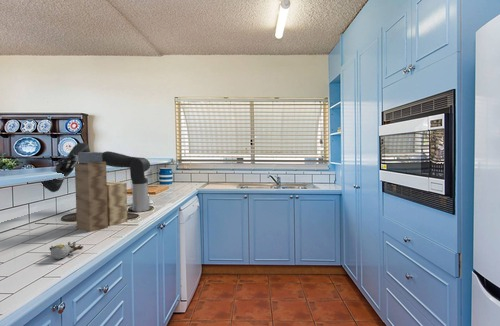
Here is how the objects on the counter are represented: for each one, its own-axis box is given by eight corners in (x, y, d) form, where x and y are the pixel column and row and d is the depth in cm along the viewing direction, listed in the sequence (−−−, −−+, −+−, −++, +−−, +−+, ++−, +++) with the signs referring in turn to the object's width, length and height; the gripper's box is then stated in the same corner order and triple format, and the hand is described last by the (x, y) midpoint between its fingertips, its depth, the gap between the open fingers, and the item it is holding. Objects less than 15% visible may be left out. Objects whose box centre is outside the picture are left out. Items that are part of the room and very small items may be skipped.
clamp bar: (79, 161, 162) (79, 151, 161) (102, 162, 150) (102, 152, 150) (65, 161, 156) (65, 151, 155) (88, 163, 144) (88, 152, 144)
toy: (88, 237, 124) (74, 245, 109) (87, 251, 124) (74, 260, 109) (55, 239, 122) (37, 246, 107) (55, 252, 121) (36, 262, 107)
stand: (94, 224, 158) (92, 160, 156) (107, 227, 152) (106, 161, 150) (76, 228, 151) (74, 161, 149) (90, 231, 144) (88, 162, 142)
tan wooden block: (114, 218, 170) (113, 181, 169) (127, 221, 163) (126, 183, 162) (96, 222, 162) (95, 183, 160) (110, 225, 155) (109, 185, 154)
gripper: (77, 175, 170) (92, 160, 161) (50, 177, 158) (64, 162, 149) (74, 163, 171) (87, 148, 163) (46, 165, 160) (60, 149, 151)
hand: (76, 155), depth 156 cm, fingers closed on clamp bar, 2 cm apart
